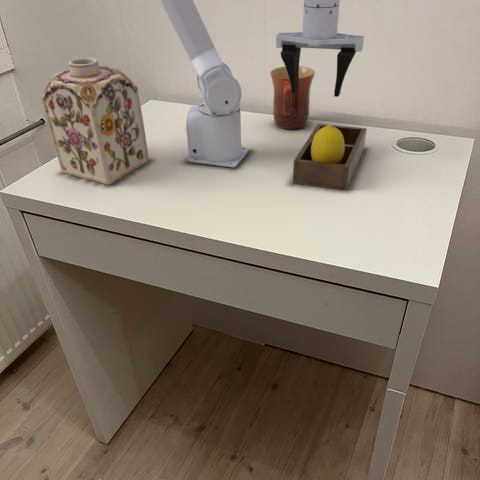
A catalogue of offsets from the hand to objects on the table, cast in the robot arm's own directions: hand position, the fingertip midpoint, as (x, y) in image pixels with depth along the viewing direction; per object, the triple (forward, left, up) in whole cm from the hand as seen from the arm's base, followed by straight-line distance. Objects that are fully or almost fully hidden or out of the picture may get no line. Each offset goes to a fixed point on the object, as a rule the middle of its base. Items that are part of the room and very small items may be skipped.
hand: (315, 93), depth 90 cm
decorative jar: (-34, -19, -10) cm, 40 cm away
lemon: (+5, -11, -9) cm, 15 cm away
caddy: (+5, -7, -10) cm, 13 cm away
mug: (-7, +9, -10) cm, 15 cm away
